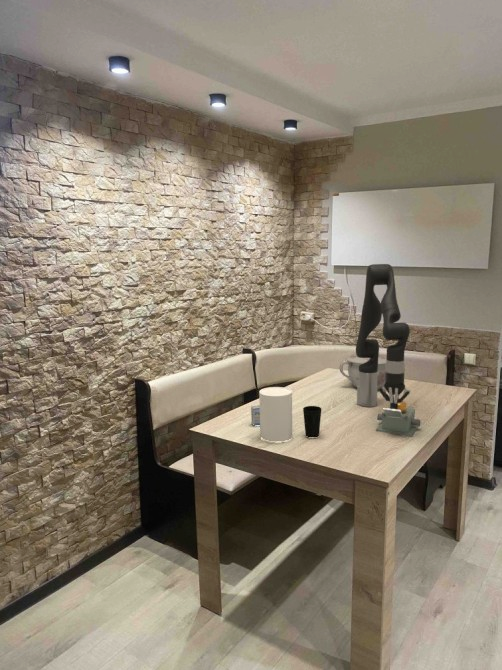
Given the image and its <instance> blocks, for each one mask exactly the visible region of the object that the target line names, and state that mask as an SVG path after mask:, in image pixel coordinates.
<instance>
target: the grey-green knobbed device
mask: <svg viewBox="0 0 502 670" xmlns="http://www.w3.org/2000/svg"><path fill="white" fill-rule="evenodd" d="M387 408H390V405H389V406H388V407H387ZM402 415H403V419H398V418H390V417H386V415H385V413H384V411H383V412H381V413H377V417H376V419H377V421H380V422H381V423H380V424H379V425H378V426H377V427H376V429H375V431H376V432H380V433H387V434H392V435H393V434H394V435H400V436H406V437H413V435H414V434H415V432H416V430H417V429H418V427H420V426H421V424H422V423H421V419H419V418H415V417H416V408H412V407H406V413H404V414H402Z"/></svg>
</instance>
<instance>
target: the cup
mask: <svg viewBox="0 0 502 670" xmlns="http://www.w3.org/2000/svg"><path fill="white" fill-rule="evenodd" d="M302 412H303V423H304V424H303V425H304V431H305V437H306V436H308V437H318V436H319V437H320V430H321V429H320V428H321V418H322V417H321V416H322V407H320V406H317V405H308V406H304V407H303V408H302ZM308 437H307V438H308ZM319 437H318V438H319Z"/></svg>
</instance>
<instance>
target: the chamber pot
mask: <svg viewBox="0 0 502 670" xmlns="http://www.w3.org/2000/svg"><path fill="white" fill-rule="evenodd" d="M386 357H387V354H386V353H385V354H384V353H379V357H378V377H377V391H379V389H380V388H381V387H383V386H384V384H385V373H386ZM369 359H370V358H359V357H357V355H356V353H353V354H350V355H347V356H346V357H345V359H344V360H342V361H341V362H340V364H339V366H338V367H339V369H338V370H339V372H340V374H341V375H342V376H343V377H345V378H347V379H348V380H349V381H350V383H351V384H353V386H354V387H356V388H357V386H358V384H359V365H361V364H363V363H365V362H367V361H368V360H369ZM345 364H346V365H347V374H348V375H347V374H346V373H345V372H344V370H343V367H344V365H345Z"/></svg>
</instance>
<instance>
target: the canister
mask: <svg viewBox="0 0 502 670" xmlns="http://www.w3.org/2000/svg"><path fill="white" fill-rule="evenodd" d="M258 393H259V395H258V396H259V405H260V426H259V437H260V436H261V437H262V438H263V439H265V440H269V441H285V440H289V439H291V438H292V439H293V390H292V389H290V388H288V387H281V386H271V387H270V386H269V387H265V388H262V389H260V390H259V392H258Z"/></svg>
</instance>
